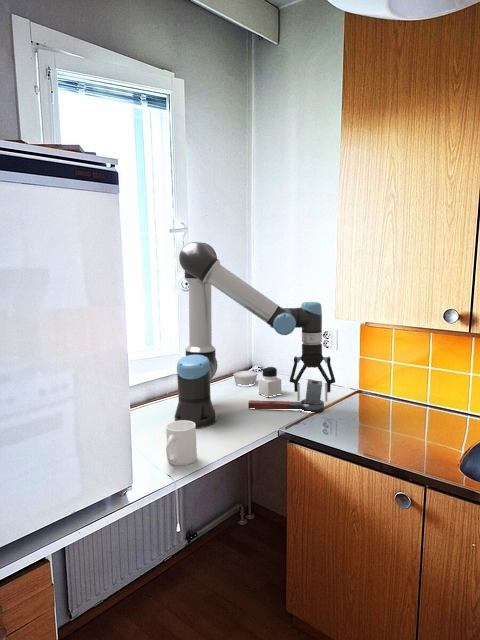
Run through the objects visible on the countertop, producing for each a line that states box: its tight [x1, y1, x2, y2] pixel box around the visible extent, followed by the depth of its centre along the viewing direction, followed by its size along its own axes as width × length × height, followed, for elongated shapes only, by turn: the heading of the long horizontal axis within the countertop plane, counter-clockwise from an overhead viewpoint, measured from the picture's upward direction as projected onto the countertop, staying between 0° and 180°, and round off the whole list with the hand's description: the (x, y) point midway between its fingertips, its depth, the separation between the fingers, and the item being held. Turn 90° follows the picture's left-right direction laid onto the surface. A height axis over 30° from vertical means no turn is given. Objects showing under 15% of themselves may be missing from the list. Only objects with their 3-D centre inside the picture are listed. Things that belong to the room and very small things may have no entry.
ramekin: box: [233, 370, 258, 385], centre depth 217 cm, size 11×11×5 cm
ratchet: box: [247, 398, 325, 414], centre depth 180 cm, size 29×9×6 cm, turn 81°
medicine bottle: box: [257, 366, 282, 397], centre depth 199 cm, size 7×7×12 cm
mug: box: [165, 420, 198, 467], centre depth 135 cm, size 9×12×11 cm
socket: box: [305, 379, 323, 405], centre depth 177 cm, size 5×5×8 cm
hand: (312, 400), depth 178 cm, fingers open, 10 cm apart
